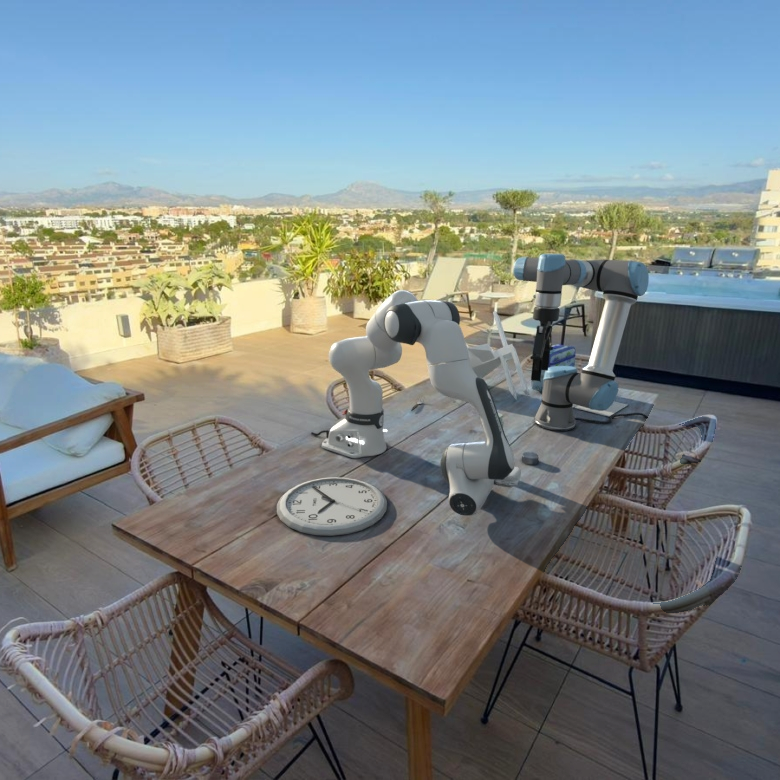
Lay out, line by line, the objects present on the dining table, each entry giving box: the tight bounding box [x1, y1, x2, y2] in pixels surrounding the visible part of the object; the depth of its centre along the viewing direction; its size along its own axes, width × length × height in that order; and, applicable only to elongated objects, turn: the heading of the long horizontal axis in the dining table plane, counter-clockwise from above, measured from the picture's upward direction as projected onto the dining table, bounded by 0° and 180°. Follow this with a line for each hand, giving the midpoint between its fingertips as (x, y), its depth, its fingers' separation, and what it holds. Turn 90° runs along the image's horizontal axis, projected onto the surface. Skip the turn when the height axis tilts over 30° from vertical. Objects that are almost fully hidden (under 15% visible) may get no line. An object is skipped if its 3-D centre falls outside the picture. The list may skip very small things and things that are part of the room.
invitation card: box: [573, 401, 629, 418], centre depth 226 cm, size 21×1×15 cm
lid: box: [521, 451, 540, 466], centre depth 172 cm, size 5×5×2 cm
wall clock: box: [276, 476, 388, 537], centre depth 142 cm, size 30×2×30 cm
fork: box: [410, 395, 425, 412], centre depth 222 cm, size 3×16×2 cm, turn 160°
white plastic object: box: [455, 310, 531, 400], centre depth 245 cm, size 37×45×31 cm
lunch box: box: [530, 344, 577, 392], centre depth 247 cm, size 26×11×21 cm, turn 134°
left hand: (490, 460), depth 157 cm, fingers open, 8 cm apart
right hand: (539, 375), depth 163 cm, fingers open, 13 cm apart
